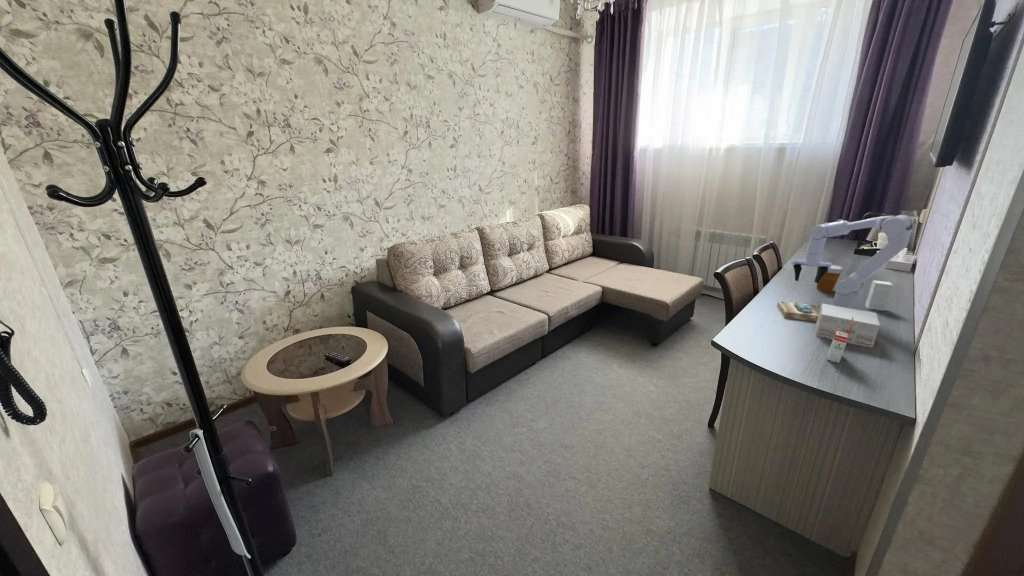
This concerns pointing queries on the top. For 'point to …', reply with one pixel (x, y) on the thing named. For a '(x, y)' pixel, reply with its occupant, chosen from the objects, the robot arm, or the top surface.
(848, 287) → the robot arm
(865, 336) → the supplement box
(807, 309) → the servo block
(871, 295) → the skincare box
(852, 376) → the top surface
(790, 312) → the plate
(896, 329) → the top surface
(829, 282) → the orange jar with lid
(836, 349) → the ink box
